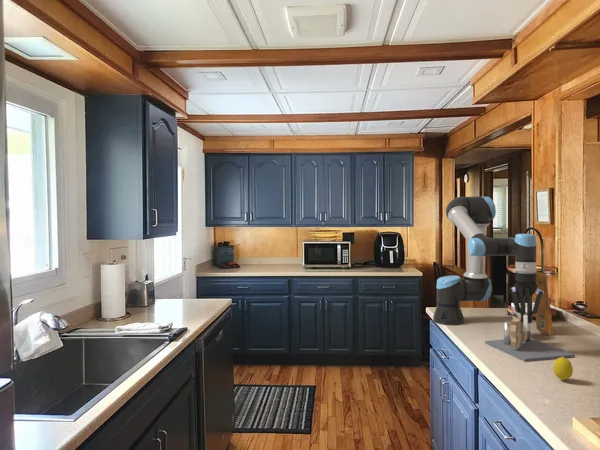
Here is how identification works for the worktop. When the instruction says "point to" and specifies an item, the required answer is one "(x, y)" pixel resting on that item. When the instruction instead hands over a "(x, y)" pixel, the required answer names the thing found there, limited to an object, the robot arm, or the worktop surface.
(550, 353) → the mat
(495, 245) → the robot arm
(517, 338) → the light wood flat slab
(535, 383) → the worktop surface
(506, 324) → the posts
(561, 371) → the lemon
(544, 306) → the pancake mix bag
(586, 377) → the worktop surface
